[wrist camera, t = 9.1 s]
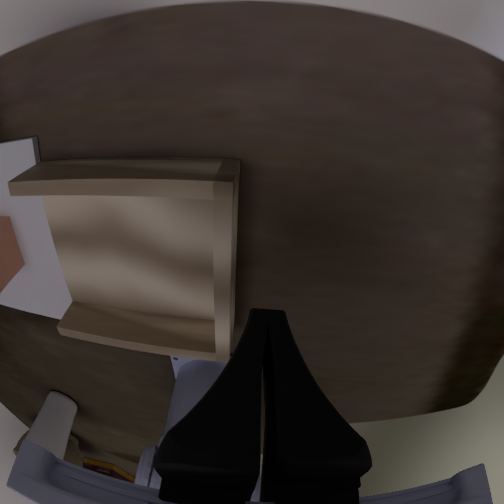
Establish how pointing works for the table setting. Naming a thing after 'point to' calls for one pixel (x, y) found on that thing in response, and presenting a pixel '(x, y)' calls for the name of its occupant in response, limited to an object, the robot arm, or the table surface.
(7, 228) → the block
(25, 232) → the mat
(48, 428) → the drinking glass
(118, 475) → the supplement box
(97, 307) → the open box
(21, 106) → the table surface
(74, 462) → the planter bowl
